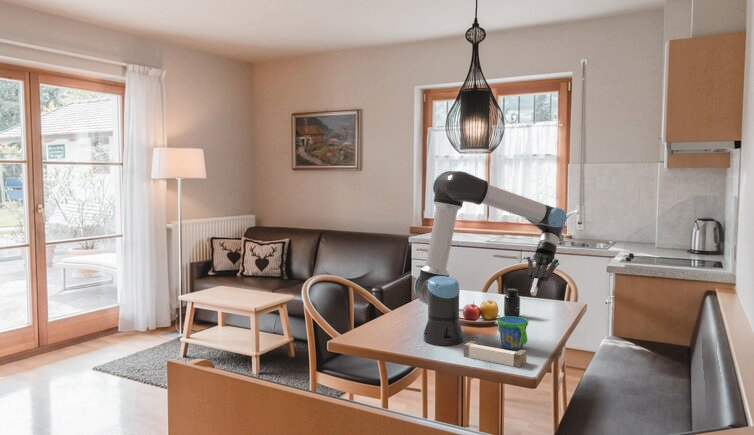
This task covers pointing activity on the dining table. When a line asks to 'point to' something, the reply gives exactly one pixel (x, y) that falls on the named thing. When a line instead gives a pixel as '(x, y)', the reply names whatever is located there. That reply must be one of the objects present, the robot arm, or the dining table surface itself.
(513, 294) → the supplement bottle
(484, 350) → the rail
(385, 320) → the dining table surface
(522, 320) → the snack cup
